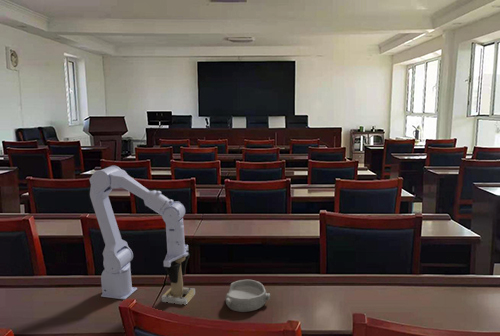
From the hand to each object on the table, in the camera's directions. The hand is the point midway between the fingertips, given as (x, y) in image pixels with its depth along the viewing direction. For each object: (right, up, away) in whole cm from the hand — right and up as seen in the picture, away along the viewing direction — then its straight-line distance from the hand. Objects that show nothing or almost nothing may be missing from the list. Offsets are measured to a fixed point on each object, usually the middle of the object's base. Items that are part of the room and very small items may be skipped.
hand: (177, 278), depth 137 cm
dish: (+23, -7, -2) cm, 24 cm away
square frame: (0, -7, +1) cm, 7 cm away
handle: (0, -7, +1) cm, 7 cm away
